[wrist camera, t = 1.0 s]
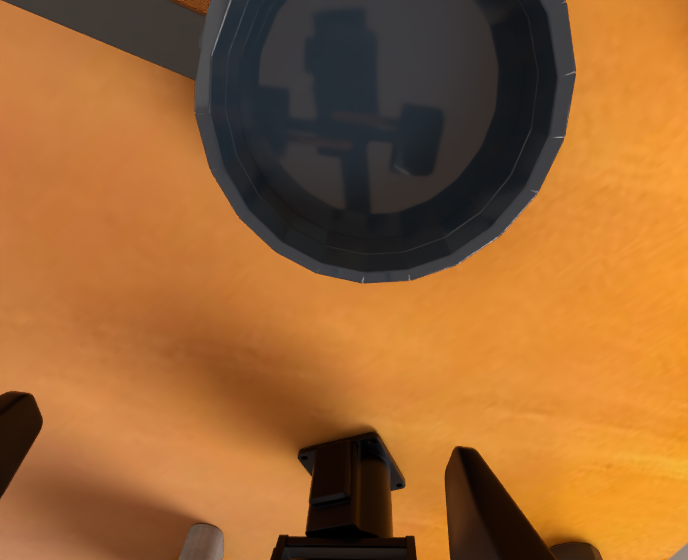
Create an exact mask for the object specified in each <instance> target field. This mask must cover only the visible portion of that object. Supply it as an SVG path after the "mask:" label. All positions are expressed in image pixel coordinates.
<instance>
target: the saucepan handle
mask: <svg viewBox="0 0 688 560" xmlns="http://www.w3.org/2000/svg"><path fill="white" fill-rule="evenodd" d="M2 1H5V2H7V3H10V4H12V5H15V6H17V7H19V8H22V9H24V10H27V11H29V12H31V13H34V14H36V15H39V16H41V17H44V18H46V19H48V20H51V21H53V22H56V23H58V24H60V25H63V26H65V27H68V28H70V29H72V30H75V31H77V32H80V33H82V34H85V35H87V36H89V37H92V38H94V39H97V40H99V41H101V42H104V43H106V44H109V45H111V46H113V47H116V48H118V49H121V50H123V51H126V52H128V53H130V54H133V55H135V56H138V57H140V58H142V59H145V60H147V61H150V62H152V63H154V64H157V65H159V66H162V67H164V68H167V69H169V70H171V71H174V72H176V73H179V74H181V75H183V76H186V77H188V78H191V79H193V80H196V79H197V73H198V67H199V61H200V55H201V51H202V49H200V48H199V46H197V45H198V42H200V41H199V39H201V38H200V36H201V33H202V30H203V27H204V24H205V21H206V13H204V12H202V11H199V10H197V9H195V8H193V7H190V6H188V5H186V4H183V3H181V2H179V1H177V0H2ZM204 31H205V30H204ZM201 42H202V41H201Z"/></svg>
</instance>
